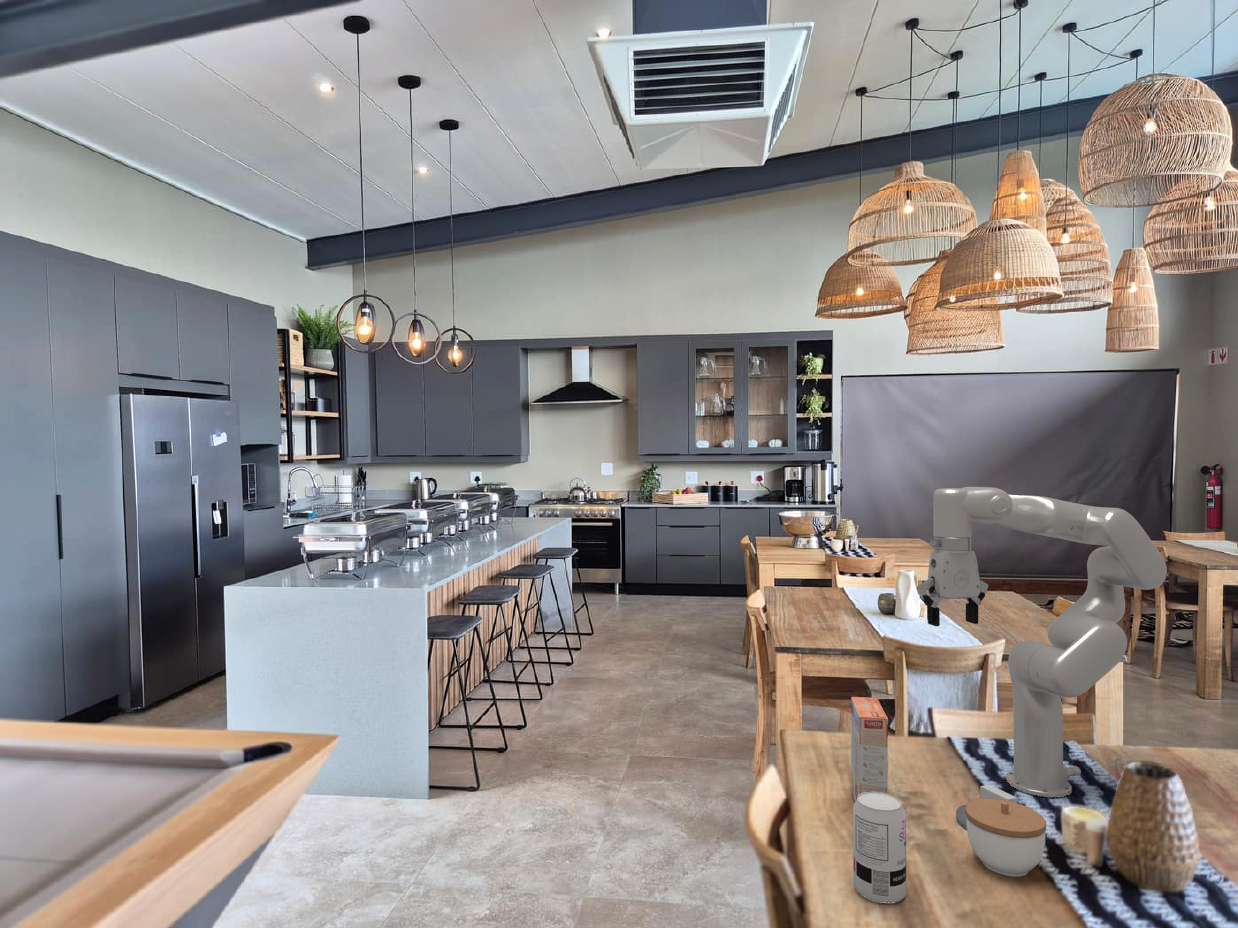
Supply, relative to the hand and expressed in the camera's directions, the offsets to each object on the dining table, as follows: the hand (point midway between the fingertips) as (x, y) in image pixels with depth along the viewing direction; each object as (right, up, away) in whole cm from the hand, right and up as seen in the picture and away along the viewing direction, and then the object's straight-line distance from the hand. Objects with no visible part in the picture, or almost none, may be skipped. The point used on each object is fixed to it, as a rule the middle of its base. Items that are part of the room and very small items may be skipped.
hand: (952, 623), depth 162 cm
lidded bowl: (-5, -36, -31) cm, 48 cm away
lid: (+2, -36, -15) cm, 39 cm away
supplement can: (-30, -36, -39) cm, 61 cm away
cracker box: (-21, -37, -8) cm, 43 cm away
